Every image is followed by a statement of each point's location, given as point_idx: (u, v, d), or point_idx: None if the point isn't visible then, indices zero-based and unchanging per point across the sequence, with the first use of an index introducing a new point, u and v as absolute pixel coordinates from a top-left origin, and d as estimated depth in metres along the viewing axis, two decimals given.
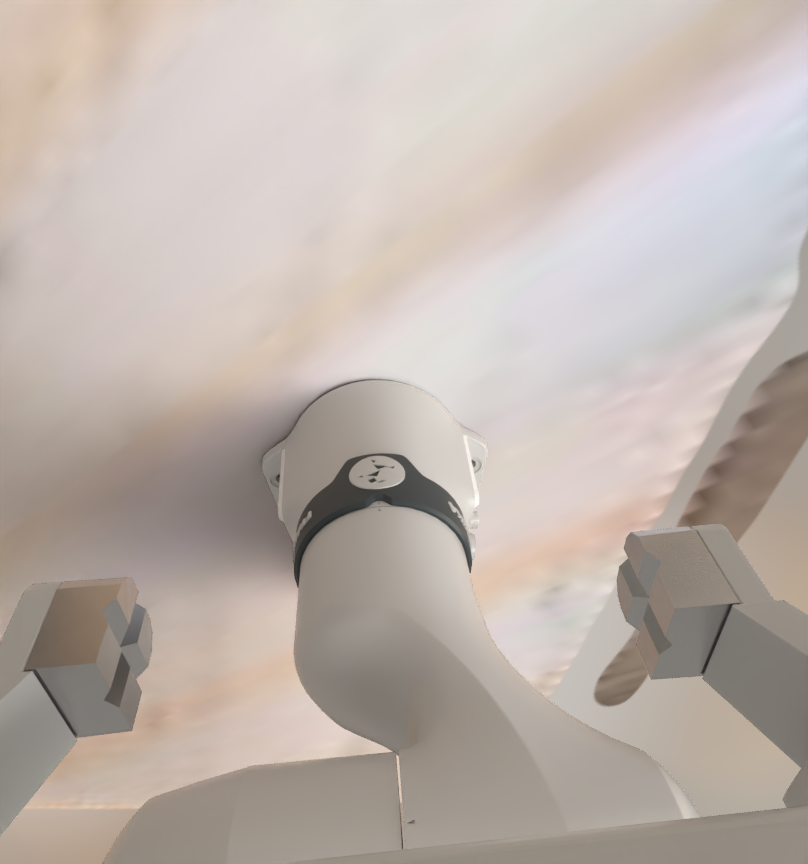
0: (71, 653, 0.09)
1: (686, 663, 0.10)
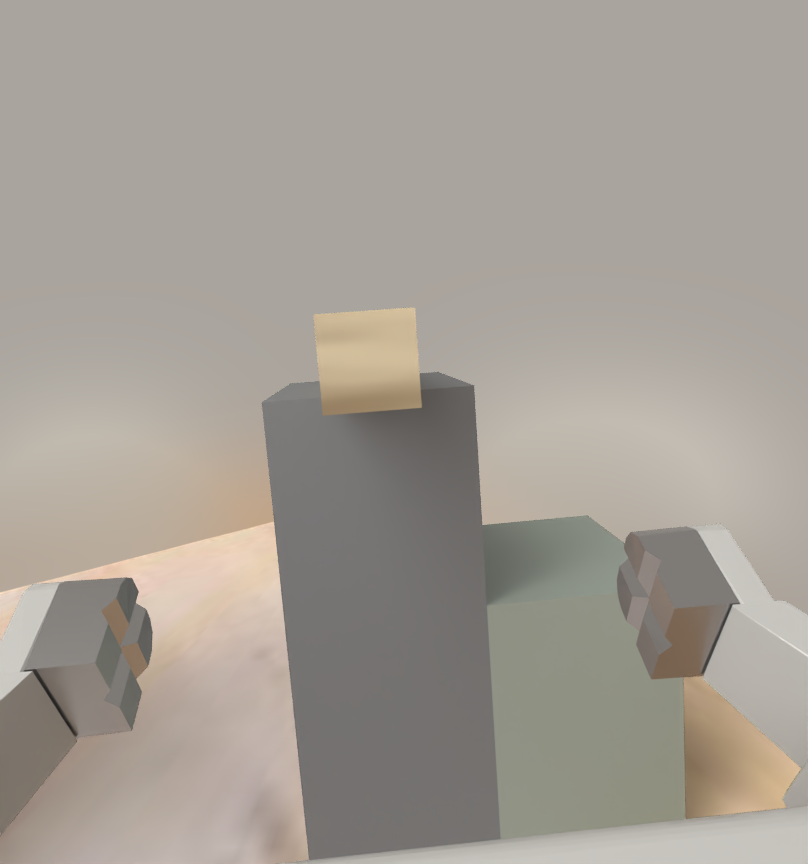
0: (71, 653, 0.09)
1: (686, 663, 0.10)
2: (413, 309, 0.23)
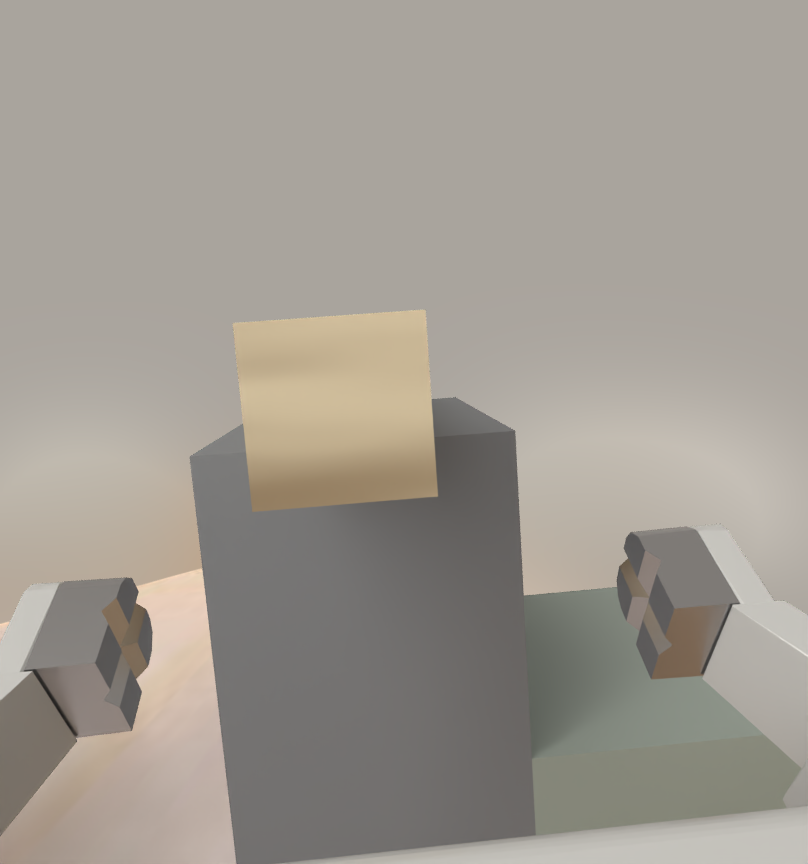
0: (71, 653, 0.09)
1: (686, 663, 0.10)
2: (422, 313, 0.12)
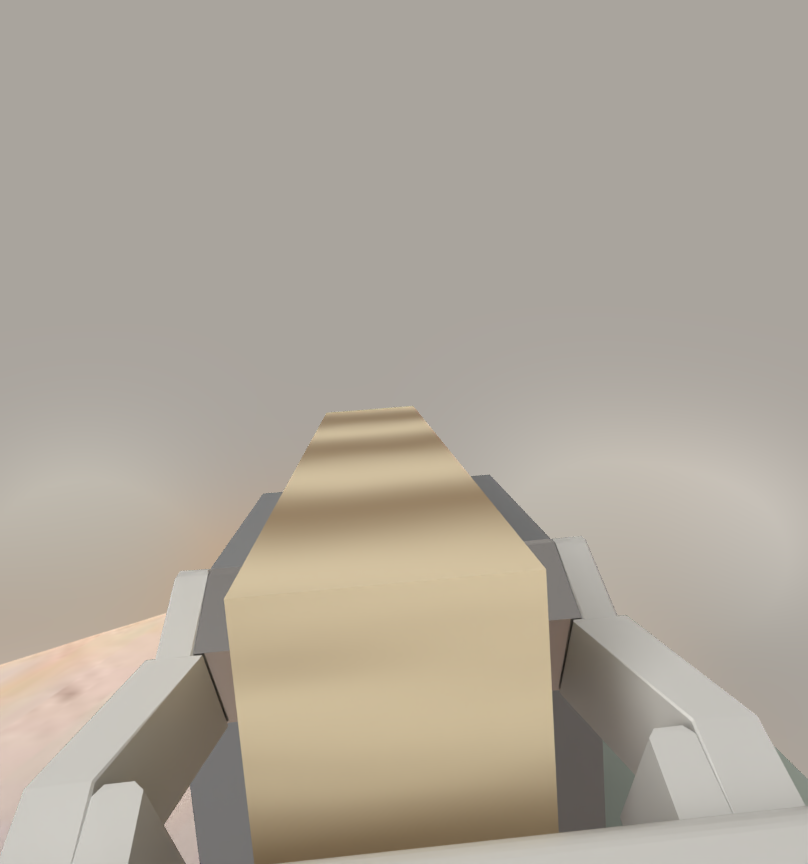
0: None
1: None
2: (542, 575, 0.07)
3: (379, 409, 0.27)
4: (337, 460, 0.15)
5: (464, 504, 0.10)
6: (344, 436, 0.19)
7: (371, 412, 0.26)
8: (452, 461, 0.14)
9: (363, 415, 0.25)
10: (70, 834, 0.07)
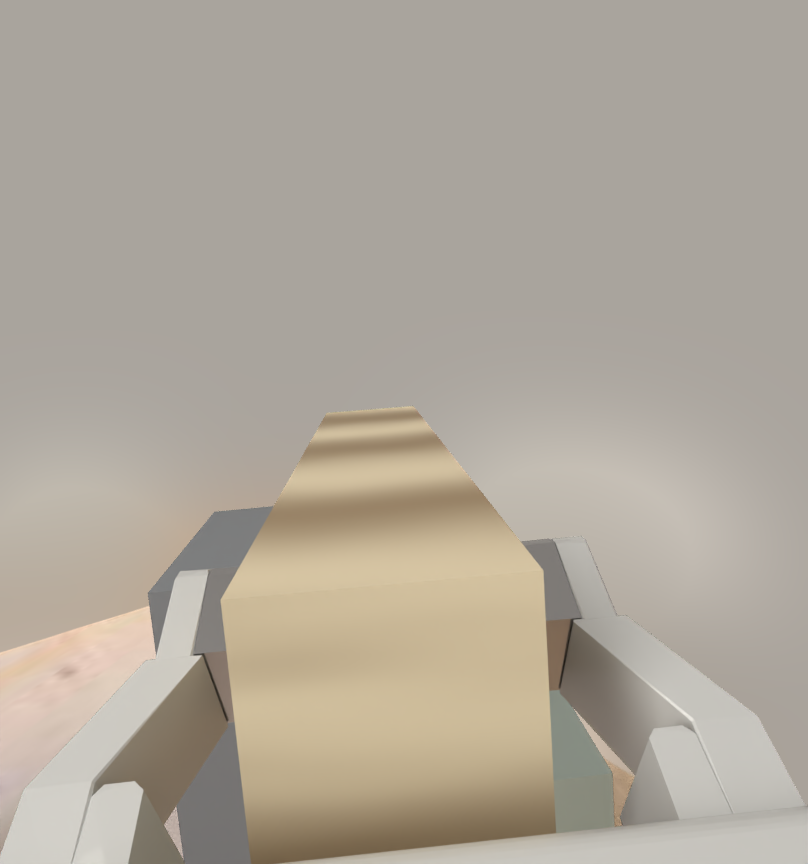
0: None
1: None
2: (539, 577, 0.07)
3: (379, 409, 0.27)
4: (336, 460, 0.15)
5: (462, 505, 0.10)
6: (344, 436, 0.19)
7: (371, 412, 0.26)
8: (451, 461, 0.14)
9: (363, 415, 0.25)
10: (70, 834, 0.07)
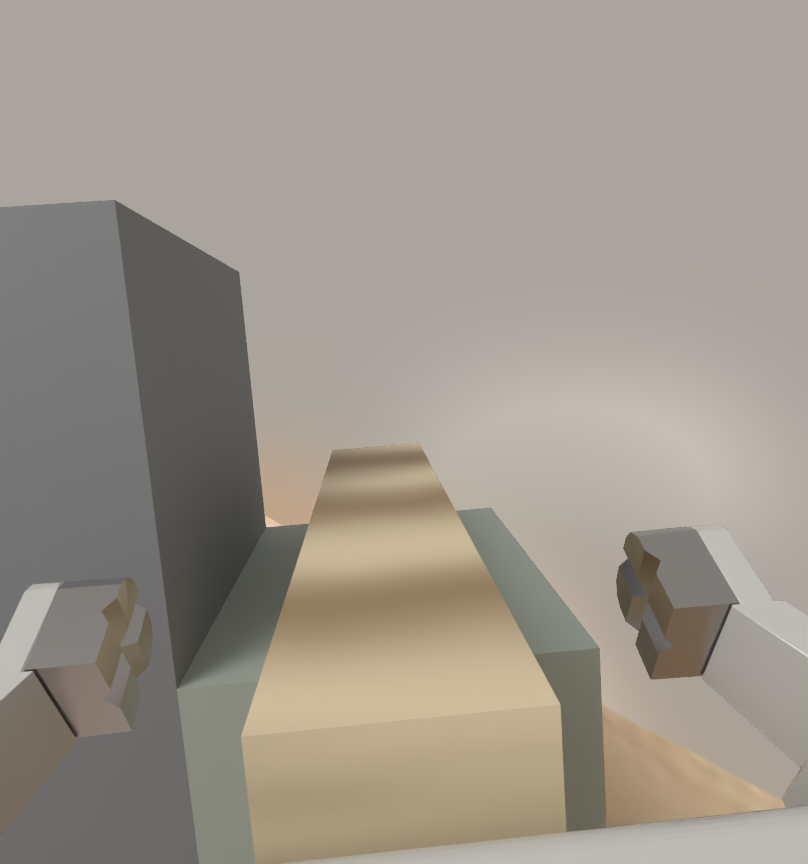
0: (71, 653, 0.09)
1: (686, 663, 0.10)
2: (556, 711, 0.07)
3: (385, 447, 0.27)
4: (346, 525, 0.15)
5: (475, 599, 0.11)
6: (351, 488, 0.19)
7: (377, 451, 0.26)
8: (461, 532, 0.14)
9: (369, 455, 0.25)
10: None
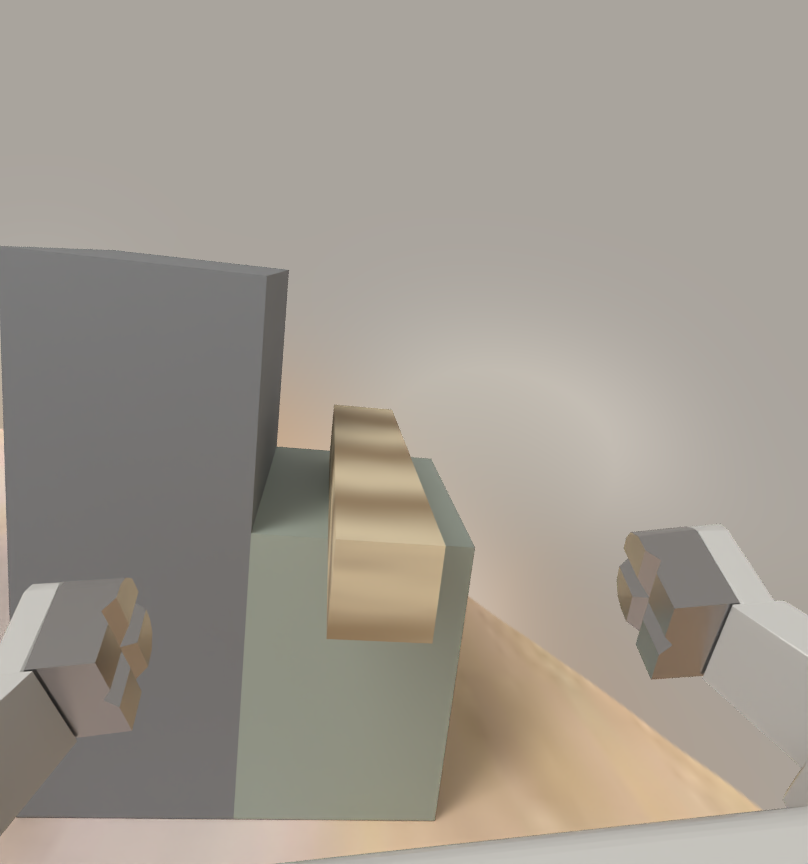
0: (71, 653, 0.09)
1: (686, 663, 0.10)
2: (443, 548, 0.21)
3: (369, 409, 0.40)
4: (355, 463, 0.29)
5: (419, 509, 0.24)
6: (353, 439, 0.33)
7: (364, 412, 0.39)
8: (415, 477, 0.28)
9: (360, 414, 0.38)
10: None
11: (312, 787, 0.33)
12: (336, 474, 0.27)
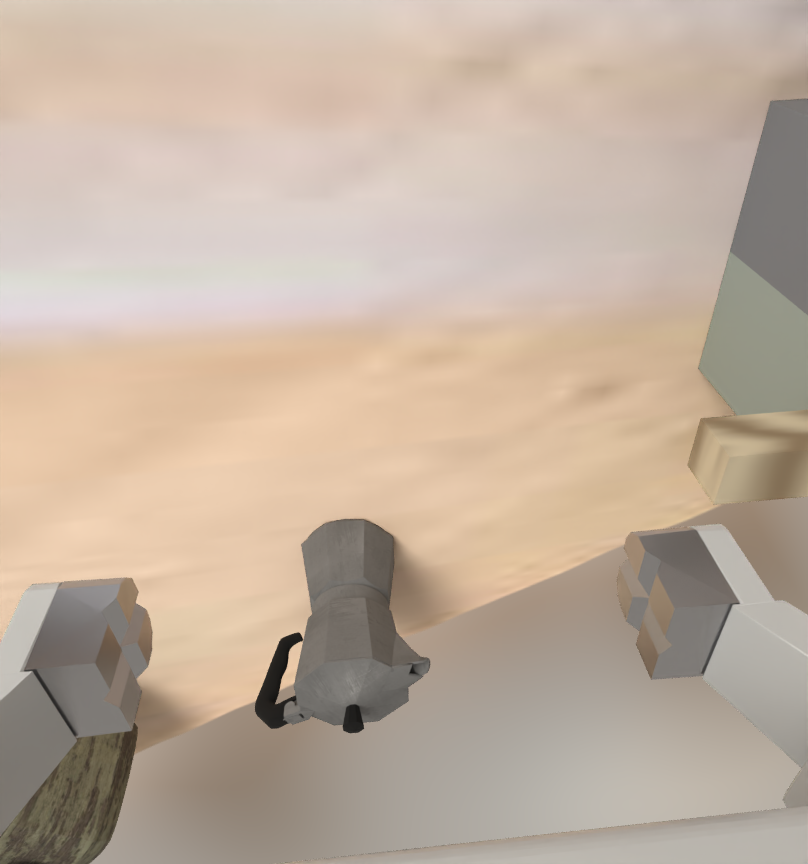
0: (71, 653, 0.09)
1: (686, 663, 0.10)
2: (713, 503, 0.38)
3: None
4: None
5: (770, 494, 0.38)
6: None
7: None
8: None
9: None
10: None
11: (729, 309, 0.49)
12: None
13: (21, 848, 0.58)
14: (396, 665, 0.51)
